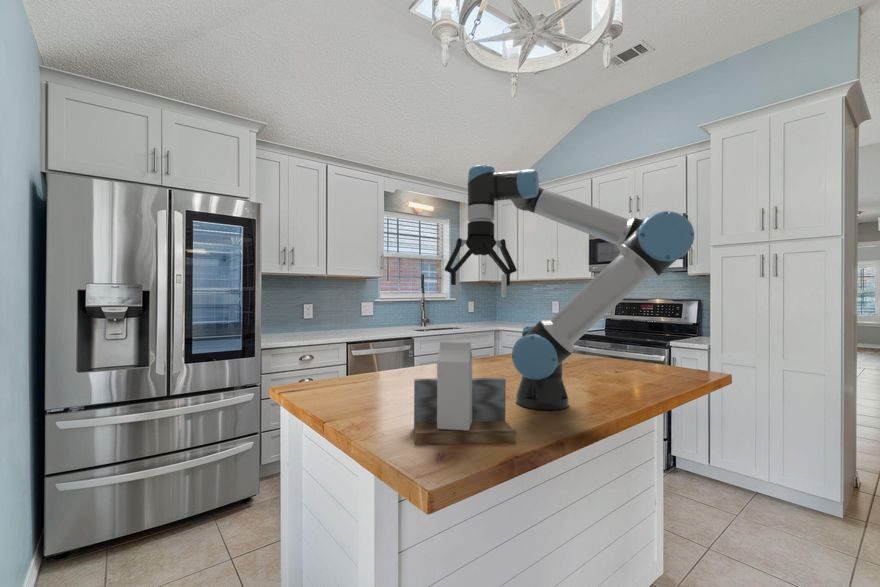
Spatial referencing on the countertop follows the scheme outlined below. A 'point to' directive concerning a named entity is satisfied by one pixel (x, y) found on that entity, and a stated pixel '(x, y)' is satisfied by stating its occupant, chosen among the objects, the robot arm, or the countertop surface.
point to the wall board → (484, 414)
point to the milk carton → (454, 386)
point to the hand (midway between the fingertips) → (480, 297)
